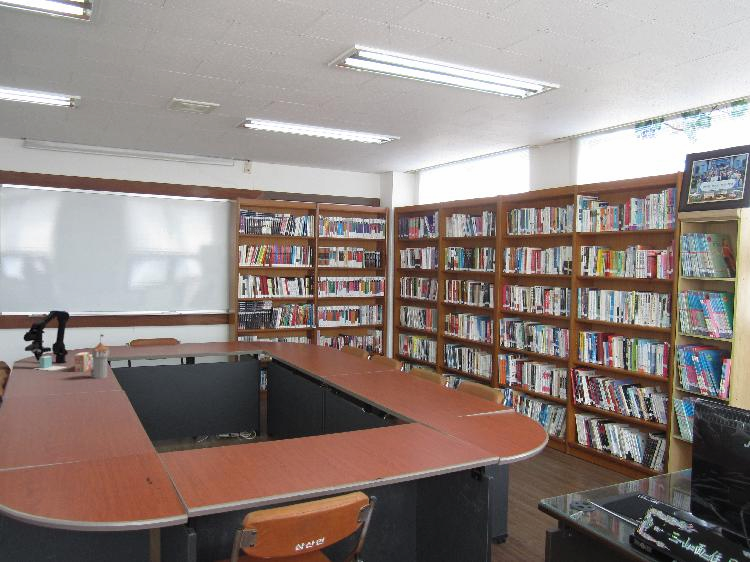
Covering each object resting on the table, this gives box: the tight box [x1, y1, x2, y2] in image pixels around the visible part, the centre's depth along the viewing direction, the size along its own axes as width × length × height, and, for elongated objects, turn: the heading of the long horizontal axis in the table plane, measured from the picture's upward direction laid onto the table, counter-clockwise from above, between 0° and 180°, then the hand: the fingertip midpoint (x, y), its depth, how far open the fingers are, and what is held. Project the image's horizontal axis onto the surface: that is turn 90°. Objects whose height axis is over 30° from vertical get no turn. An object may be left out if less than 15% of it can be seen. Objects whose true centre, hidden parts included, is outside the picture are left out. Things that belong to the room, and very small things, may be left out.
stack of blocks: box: [74, 351, 94, 373], centre depth 438 cm, size 21×6×12 cm, turn 9°
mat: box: [34, 365, 67, 372], centre depth 437 cm, size 14×16×1 cm
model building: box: [89, 333, 110, 379], centre depth 409 cm, size 14×12×30 cm
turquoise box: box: [39, 355, 53, 368], centre depth 438 cm, size 7×4×8 cm, turn 166°
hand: (37, 360), depth 439 cm, fingers closed
